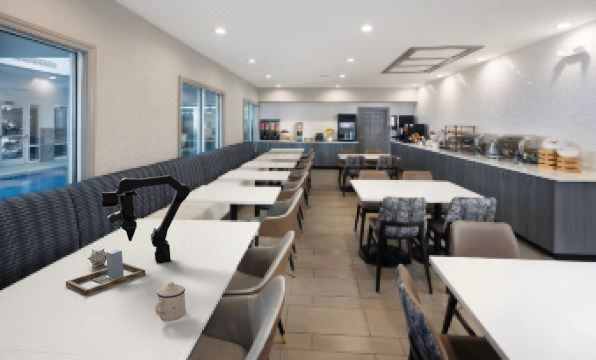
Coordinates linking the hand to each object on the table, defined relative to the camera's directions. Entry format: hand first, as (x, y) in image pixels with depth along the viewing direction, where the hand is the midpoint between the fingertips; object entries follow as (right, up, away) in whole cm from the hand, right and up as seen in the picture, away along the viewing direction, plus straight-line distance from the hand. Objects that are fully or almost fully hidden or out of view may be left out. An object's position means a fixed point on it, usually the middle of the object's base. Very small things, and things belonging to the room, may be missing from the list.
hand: (129, 238), depth 181 cm
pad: (-1, -15, -12) cm, 19 cm away
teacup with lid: (+34, -20, -47) cm, 61 cm away
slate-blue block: (-1, -14, -12) cm, 19 cm away
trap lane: (-3, -15, -14) cm, 21 cm away
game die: (-15, -13, +2) cm, 20 cm away
